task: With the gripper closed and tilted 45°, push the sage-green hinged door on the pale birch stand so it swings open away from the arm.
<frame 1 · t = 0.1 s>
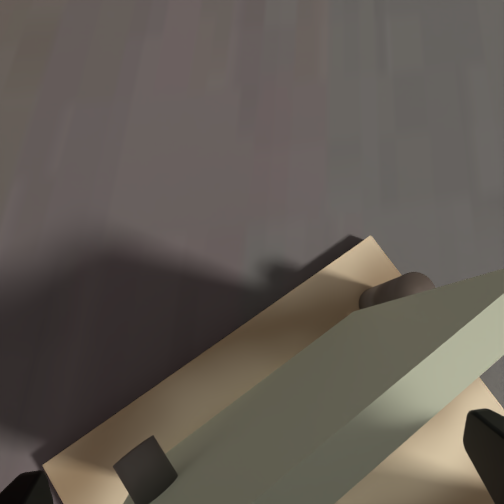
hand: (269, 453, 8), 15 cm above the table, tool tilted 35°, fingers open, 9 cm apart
door: (269, 394, 15), point 8 cm above the table, hinge at -0.4°
door stand: (303, 459, 22), on the table
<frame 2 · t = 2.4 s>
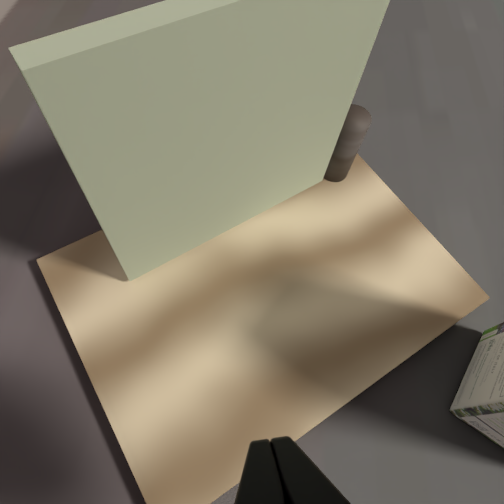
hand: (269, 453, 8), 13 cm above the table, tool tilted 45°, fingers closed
door: (224, 132, 19), point 8 cm above the table, hinge at -0.7°
door stand: (266, 285, 25), on the table
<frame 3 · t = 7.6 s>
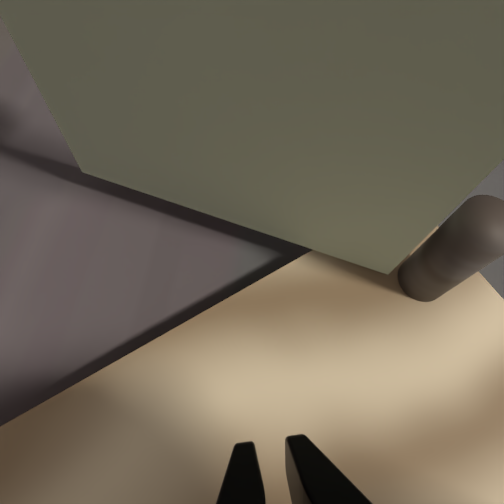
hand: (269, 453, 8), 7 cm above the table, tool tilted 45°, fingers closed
door: (250, 63, 11), point 8 cm above the table, hinge at 51.0°
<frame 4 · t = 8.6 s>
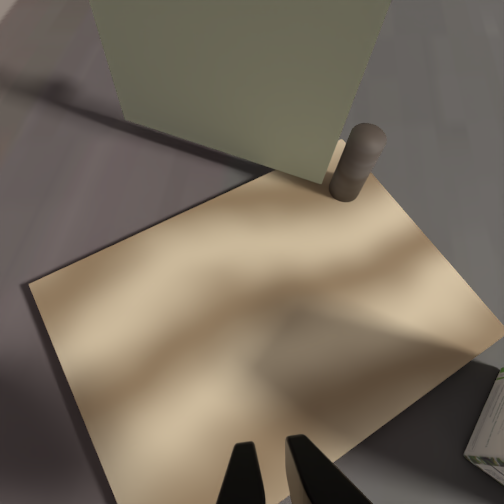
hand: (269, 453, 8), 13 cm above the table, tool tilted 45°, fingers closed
door: (229, 44, 21), point 8 cm above the table, hinge at 51.0°
door stand: (270, 313, 23), on the table
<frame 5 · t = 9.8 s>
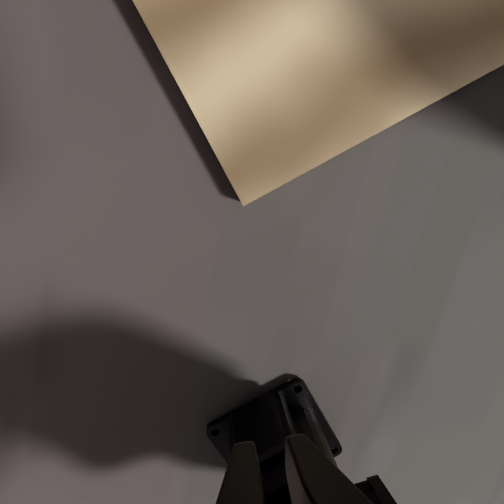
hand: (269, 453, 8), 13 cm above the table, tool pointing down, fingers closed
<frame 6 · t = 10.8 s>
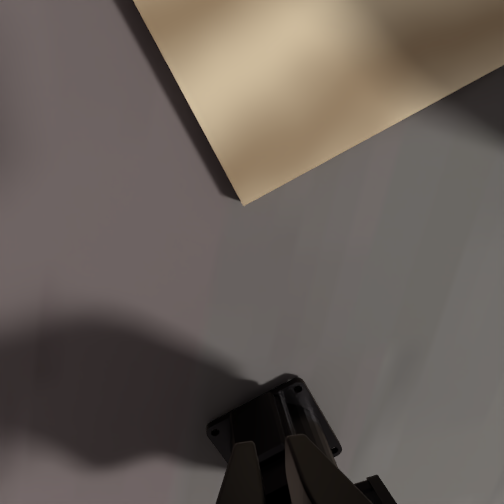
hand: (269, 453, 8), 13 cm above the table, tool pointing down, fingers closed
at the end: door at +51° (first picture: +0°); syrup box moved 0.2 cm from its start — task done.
